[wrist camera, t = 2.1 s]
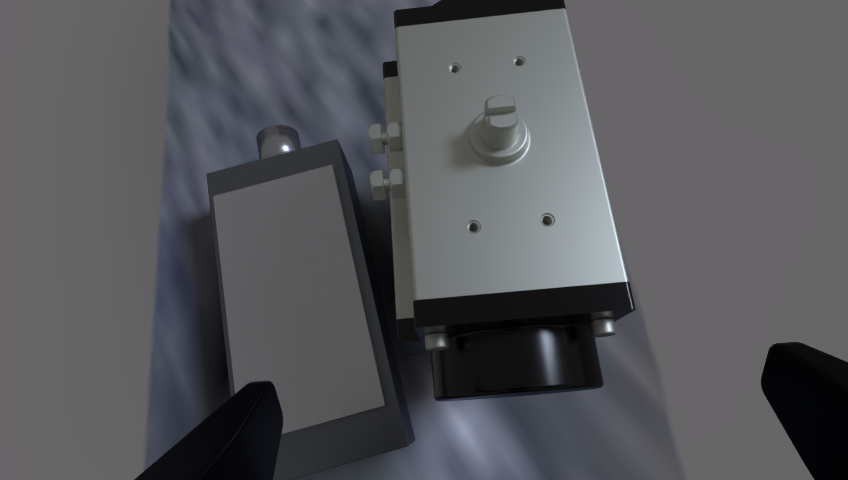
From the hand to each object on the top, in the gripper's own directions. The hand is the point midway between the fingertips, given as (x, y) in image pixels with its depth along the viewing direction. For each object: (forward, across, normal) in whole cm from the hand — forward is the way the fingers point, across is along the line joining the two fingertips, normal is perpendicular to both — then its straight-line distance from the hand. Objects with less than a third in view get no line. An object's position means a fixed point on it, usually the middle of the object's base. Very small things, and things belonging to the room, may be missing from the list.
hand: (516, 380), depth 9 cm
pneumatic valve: (+12, 0, +4) cm, 13 cm away
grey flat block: (+11, +7, +5) cm, 14 cm away
